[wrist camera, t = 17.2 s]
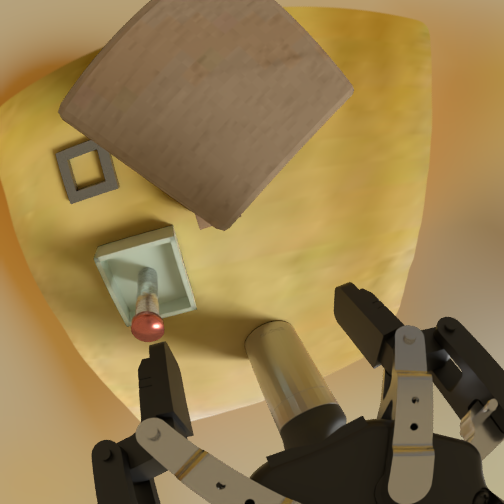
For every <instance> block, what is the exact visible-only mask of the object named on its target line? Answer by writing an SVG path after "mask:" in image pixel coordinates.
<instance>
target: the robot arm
mask: <svg viewBox="0 0 504 504" xmlns="http://www.w3.org/2000/svg"><path fill="white" fill-rule="evenodd" d="M334 315H335V318H336V320H337V322H338V323H339V325H340V326H341V327H342V329H343V330H344V331H345V332H346V334H347V335H348V336H349V337H350V339H351V340H352V341H353V342H354V344H355V345H356V346H357V348H358V349H359V350H360V351H361V353H362V354H363V355H364V357H365V358H366V359H367V360H368V362H369V363H370V364H371V366H372V367H373V368H376V367H378V366H380V365H382V366H383V367H384V370H383V382H382V393H381V403H380V408H379V412H378V416H377V419H372V420H365V419H364V417H363V416H361V417H359V418H357V419H355V420H353V421H351V422H350V423H348V424H346V416H345V414H344V412H343V411H342V409H341V407H340V406H339V404H338V402H337V401H336V399H335V397H334V396H333V394H332V392H331V391H330V389H329V387H328V386H327V384H326V382H325V381H324V379H323V377H322V375H321V374H320V372H319V370H318V369H317V367H316V365H315V364H314V362H313V360H312V358H311V357H310V355H309V353H308V352H307V350H306V348H305V347H304V345H303V343H302V341H301V340H300V338H299V336H298V335H297V333H296V331H295V329H294V328H293V326H292V325H291V324H289V323H287V322H284V321H273V322H269V323H266V324H264V325H262V326H260V327H258V328H257V329H255V330H254V331H253V332H252V333H251V334H250V335H249V336H248V338H247V339H246V342H245V350H246V352H247V355H248V358H249V360H250V363H251V365H252V368H253V370H254V373H255V375H256V378H257V380H258V383H259V385H260V388H261V390H262V393H263V395H264V397H265V400H266V402H267V405H268V407H269V409H270V412H271V414H272V416H273V419H274V421H275V423H276V426H277V428H278V430H279V433H280V435H281V438H282V440H283V443H284V448H285V451H282V452H279V453H276V454H273V455H270V456H268V457H266V458H267V460H268V462H266V463H265V464H263V465H262V466H261V467H259V468H258V469H257V470H256V471H255V472H254V473H253V474H252V475H251V477H250V478H248V477H246V476H244V475H243V474H241V473H239V472H238V471H236V470H234V469H233V468H231V467H229V466H228V465H226V464H225V463H223V462H222V461H220V460H218V459H217V458H215V457H214V456H212V455H211V454H209V453H208V452H206V451H204V450H201V449H200V448H198V447H197V446H196V445H194V444H193V443H191V442H190V441H188V439H187V437H188V436H193V431H192V426H191V422H190V417H189V412H188V408H187V403H186V398H185V393H184V387H183V382H182V377H181V372H180V369H179V366H178V363H177V361H176V359H175V358H174V356H173V354H172V352H171V350H170V348H169V346H168V344H167V343H166V342H161V343H157V344H153V345H150V346H149V354H150V358H146V359H142V361H141V364H140V366H139V369H138V378H139V397H140V410H141V423H140V424H139V426H138V427H137V430H136V432H135V433H134V434H133V435H132V436H130V437H128V438H126V439H124V440H122V441H120V442H118V443H115V442H113V441H111V440H103V441H100V442H99V443H97V444H96V445H95V446H94V448H93V450H92V465H93V474H94V482H95V489H96V496H97V502H98V504H160V500H159V497H158V494H157V489H156V486H155V482H154V477H156V476H158V475H160V474H162V473H164V472H166V471H168V470H169V471H170V472H171V473H172V474H174V475H175V476H176V477H177V479H178V480H180V481H181V482H182V483H183V484H185V485H186V486H187V487H188V488H190V489H191V490H192V491H194V492H195V493H197V494H198V495H200V496H201V497H202V498H204V499H205V500H206V501H208V502H209V503H211V504H504V501H503V500H502V499H500V498H499V497H498V496H496V495H495V494H493V493H492V492H491V491H490V490H489V489H488V488H487V486H486V483H485V480H484V476H483V471H482V460H483V459H484V458H485V457H486V456H487V455H488V454H489V453H490V452H492V451H493V450H494V449H495V448H496V446H498V444H500V443H501V442H502V441H503V440H504V370H503V369H502V368H501V367H500V366H499V364H498V363H497V362H496V361H495V360H494V359H493V358H492V357H491V355H490V354H489V353H488V352H487V351H486V350H485V349H484V348H483V346H482V345H481V344H480V343H479V342H478V341H477V340H476V339H475V338H474V337H473V336H472V335H471V334H470V333H469V332H468V331H467V330H466V328H465V327H464V326H463V325H462V324H461V323H460V322H459V321H458V320H456V319H454V318H451V317H444V318H441V319H440V320H439V321H438V323H437V325H436V327H434V328H430V329H425V330H420V329H418V328H417V327H415V326H410V325H406V326H405V325H404V324H403V323H402V322H400V320H399V319H398V318H397V317H396V316H395V315H394V314H393V313H392V312H391V311H390V310H389V309H388V308H387V307H386V306H384V304H383V303H382V302H381V301H379V299H378V298H377V297H376V296H375V295H374V294H373V293H371V292H369V291H367V290H365V289H363V288H362V289H360V290H359V289H358V288H357V287H356V286H355V285H354V284H353V283H351V282H349V283H346V284H343V285H341V286H338V287H336V288H335V298H334ZM450 357H451V358H452V359H453V360H454V362H455V363H456V364H457V365H458V366H459V368H460V369H461V371H462V372H461V371H460V370H459V369H458V367H457V366H456V365H455V364H454V362H453V361H452V360H451V359H450ZM433 383H434V384H435V385H436V387H437V388H438V389H439V391H440V392H441V393H442V395H443V396H444V398H445V399H446V400H447V402H448V403H449V404H450V406H451V407H452V408H453V410H454V411H455V413H456V414H457V415H458V417H459V418H460V420H461V423H460V429H461V430H460V435H461V437H463V438H464V440H459V439H455V438H451V437H447V436H443V435H439V434H435V433H433Z"/></svg>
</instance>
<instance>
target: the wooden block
mask: <svg viewBox="0 0 504 504" xmlns="http://www.w3.org/2000/svg"><path fill="white" fill-rule="evenodd" d="M353 92H354V89H353V86H352V84H351V83H350V82H349V80H348V79H347V78H346V77H345V75H344V74H343V73H342V72H341V70H340V69H339V68H338V67H337V65H336V64H335V63H334V62H333V61H332V59H331V58H330V57H329V56H328V55H327V53H326V52H325V51H324V50H323V49H322V48H321V47H320V45H319V44H318V43H317V42H316V41H315V40H314V39H313V38H312V37H311V36H310V34H309V33H308V32H307V31H306V30H305V29H304V28H303V27H302V26H301V25H300V24H299V23H298V22H297V21H296V20H295V19H294V18H293V17H292V16H291V15H290V14H289V13H288V12H287V11H286V10H285V9H284V8H282V7H281V6H280V5H279V4H278V3H277V2H276V1H275V0H151V1H149V2H148V3H147V4H146V5H145V6H144V7H143V8H142V9H141V10H140V11H138V12H137V13H136V14H135V15H134V16H133V17H132V18H131V19H130V20H129V21H128V22H127V23H126V24H125V25H124V26H123V27H122V28H121V29H120V30H119V31H118V32H117V33H116V35H114V37H113V38H112V39H111V40H110V41H109V42H108V43H107V44H106V45H105V46H104V48H103V49H102V50H101V51H100V52H99V53H98V55H97V56H96V57H95V58H94V59H93V61H92V62H91V63H90V64H89V66H88V67H87V68H86V69H85V71H84V72H83V73H82V75H81V76H80V77H79V79H78V80H77V81H76V83H75V84H74V85H73V87H72V88H71V90H70V91H69V92H68V94H67V95H66V97H65V98H64V100H63V101H62V103H61V105H60V108H59V111H58V113H59V114H60V116H61V118H62V119H63V120H64V121H65V122H67V123H68V124H70V125H71V126H72V127H74V128H75V129H77V130H78V131H79V132H81V133H82V134H84V135H85V136H86V137H88V138H89V139H91V140H92V141H93V142H95V143H96V144H98V145H99V146H100V147H102V148H103V149H105V150H106V151H108V152H109V153H110V154H112V155H113V156H115V157H116V158H117V159H119V160H120V161H122V162H123V163H124V164H126V165H127V166H129V167H130V168H131V169H133V170H134V171H136V172H137V173H138V174H140V175H141V176H143V177H144V178H146V179H147V180H148V181H150V182H151V183H153V184H154V185H155V186H157V187H158V188H160V189H161V190H162V191H164V192H165V193H167V194H168V195H169V196H171V197H172V198H174V199H175V200H177V201H178V202H179V203H181V204H182V205H184V206H185V207H186V208H188V209H189V210H191V211H192V212H193V213H195V214H196V215H198V216H199V217H200V218H202V219H203V220H205V221H206V222H208V223H209V224H210V225H212V226H213V227H215V228H216V229H220V230H223V231H225V230H227V229H228V228H230V227H231V226H232V224H233V223H234V222H235V221H236V220H237V219H238V218H239V216H240V215H241V214H242V213H243V212H244V211H245V210H246V208H247V207H248V206H249V205H250V204H251V203H252V202H253V201H254V199H255V198H256V197H257V196H258V195H259V194H260V193H261V192H262V191H263V189H264V188H265V187H266V186H267V185H268V184H269V183H270V182H271V181H272V179H273V178H274V177H275V176H276V175H277V174H278V173H279V172H280V171H281V170H282V168H283V167H284V166H285V165H286V164H287V163H288V162H289V161H290V160H291V159H292V158H293V157H294V155H295V154H296V153H297V152H298V151H299V150H300V149H301V148H302V147H303V146H304V145H305V144H306V143H307V142H308V140H309V139H310V138H311V137H312V136H313V135H314V134H315V133H316V132H317V131H318V130H319V129H320V128H321V127H322V126H323V125H324V124H325V122H326V121H327V120H328V119H329V118H330V117H331V116H332V115H333V114H334V113H335V112H336V111H337V110H338V109H339V108H340V107H341V106H342V105H343V104H344V103H345V102H346V101H347V100H348V99H349V98H350V97H351V96H352V94H353Z"/></svg>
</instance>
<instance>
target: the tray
mask: <svg viewBox="0 0 504 504" xmlns="http://www.w3.org/2000/svg"><path fill="white" fill-rule="evenodd" d="M94 261H95V263H96V266H97V268H98V270H99V272H100V274H101V276H102V279H103V281H104V283H105V285H106V287H107V289H108V291H109V293H110V295H111V297H112V299H113V301H114V303H115V305H116V307H117V309H118V311H119V313H120V315H121V317H122V318H123V320H124V322H125V324H126V326H127V327H129V326H131V324H132V319H133V317H134V316H135V315H136V296H137V280H138V273H139V271H140V270H141V269H142V268H145V267H150V268H153V269H154V270H155V271H156V272H157V275H158V300H159V316H160V317H161V318H165V317H169V316H173V315H177V314H181V313H185V312H188V311H192V310H196V309H197V307H196V303H195V298H194V294H193V291H192V288H191V285H190V281H189V278H188V275H187V272H186V268H185V265H184V262H183V258H182V255H181V251H180V248H179V244H178V241H177V237H176V234H175V230H174V226H173V225H172V226H168V227H164V228H161V229H157V230H153V231H150V232H146V233H143V234H139V235H135V236H132V237H128V238H125V239H122V240H118V241H115V242H111V243H108V244H105V245H101V246H98V248H97V250H96V253H95V256H94Z"/></svg>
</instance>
